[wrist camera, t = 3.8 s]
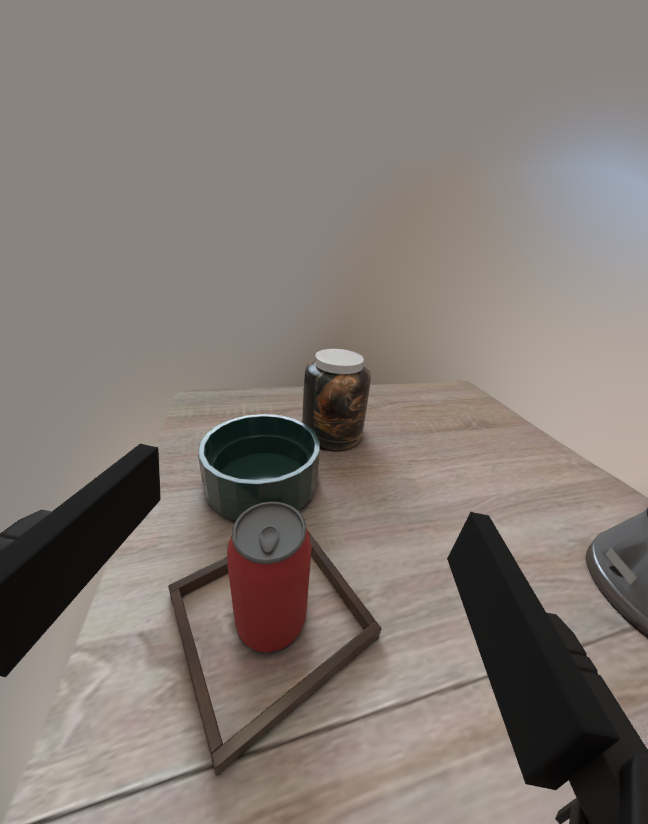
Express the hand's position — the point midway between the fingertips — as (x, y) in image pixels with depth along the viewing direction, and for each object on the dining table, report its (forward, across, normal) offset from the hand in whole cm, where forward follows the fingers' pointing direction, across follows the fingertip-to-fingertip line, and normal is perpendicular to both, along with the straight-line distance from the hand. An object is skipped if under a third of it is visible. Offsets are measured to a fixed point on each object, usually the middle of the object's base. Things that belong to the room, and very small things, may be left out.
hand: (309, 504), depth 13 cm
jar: (+41, +2, -18) cm, 45 cm away
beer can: (+8, -1, -21) cm, 23 cm away
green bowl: (+26, -7, -20) cm, 33 cm away
